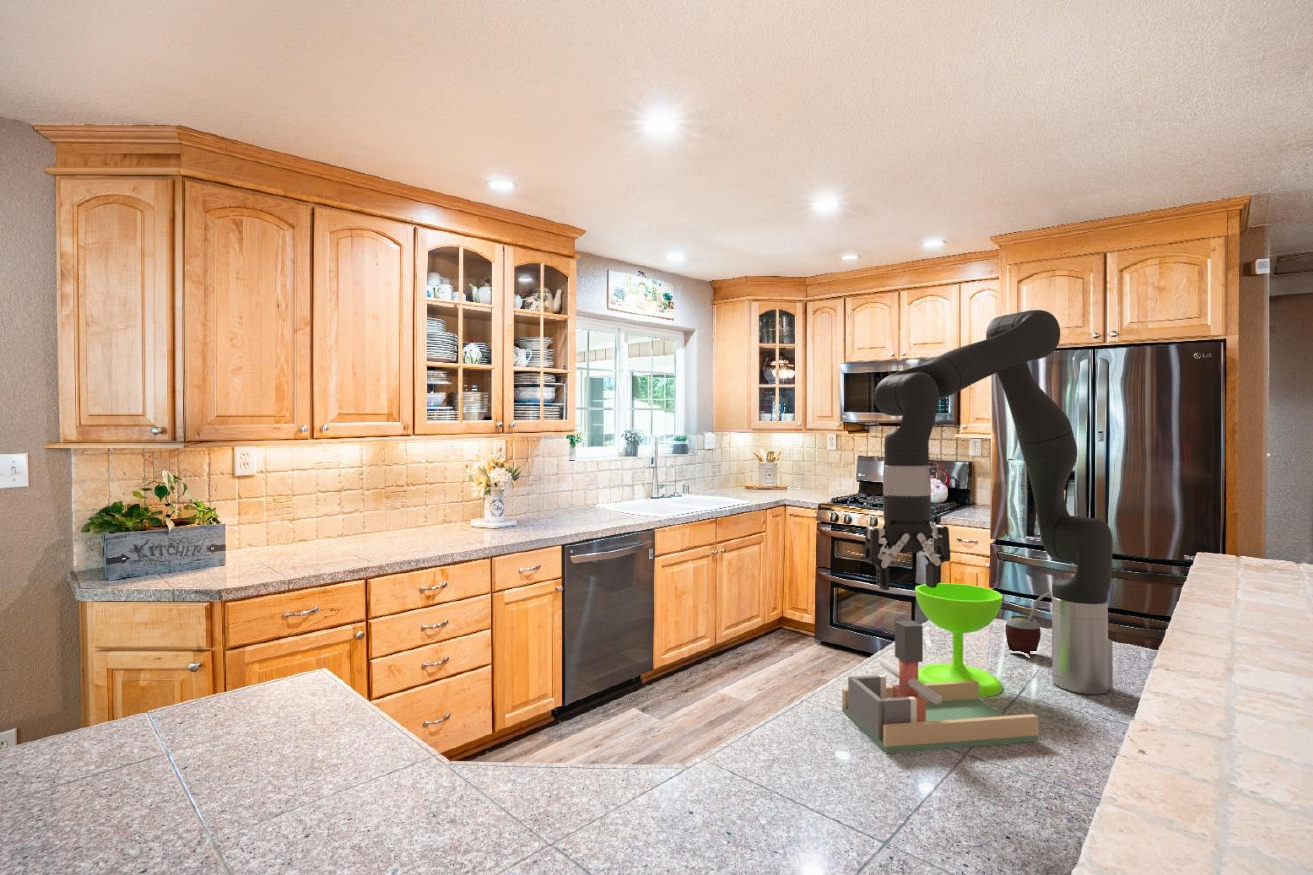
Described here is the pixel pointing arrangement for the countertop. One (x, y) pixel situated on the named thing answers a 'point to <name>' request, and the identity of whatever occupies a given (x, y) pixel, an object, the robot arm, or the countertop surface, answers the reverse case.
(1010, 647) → the mate gourd
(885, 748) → the pitch
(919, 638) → the striker
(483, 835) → the countertop surface
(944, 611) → the wineglass
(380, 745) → the countertop surface
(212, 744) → the countertop surface
